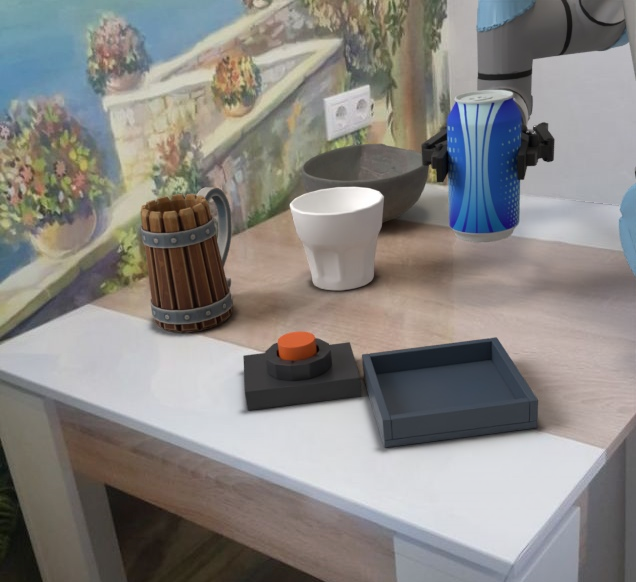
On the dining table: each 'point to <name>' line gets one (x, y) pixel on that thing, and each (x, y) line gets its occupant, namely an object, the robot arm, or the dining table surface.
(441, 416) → the shallow square tray
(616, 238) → the dining table surface
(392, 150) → the bowl
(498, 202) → the beer can
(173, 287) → the mug
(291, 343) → the button
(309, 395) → the dark grey button base
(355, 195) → the cup
